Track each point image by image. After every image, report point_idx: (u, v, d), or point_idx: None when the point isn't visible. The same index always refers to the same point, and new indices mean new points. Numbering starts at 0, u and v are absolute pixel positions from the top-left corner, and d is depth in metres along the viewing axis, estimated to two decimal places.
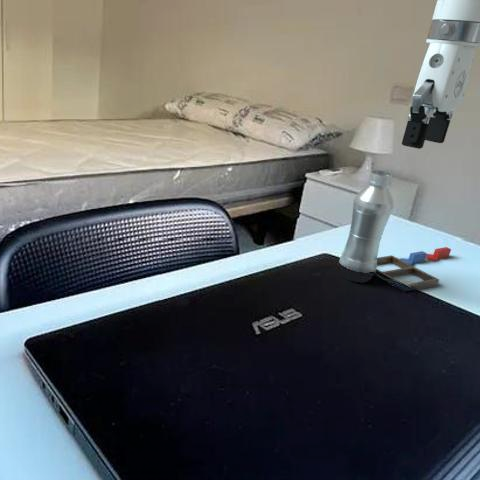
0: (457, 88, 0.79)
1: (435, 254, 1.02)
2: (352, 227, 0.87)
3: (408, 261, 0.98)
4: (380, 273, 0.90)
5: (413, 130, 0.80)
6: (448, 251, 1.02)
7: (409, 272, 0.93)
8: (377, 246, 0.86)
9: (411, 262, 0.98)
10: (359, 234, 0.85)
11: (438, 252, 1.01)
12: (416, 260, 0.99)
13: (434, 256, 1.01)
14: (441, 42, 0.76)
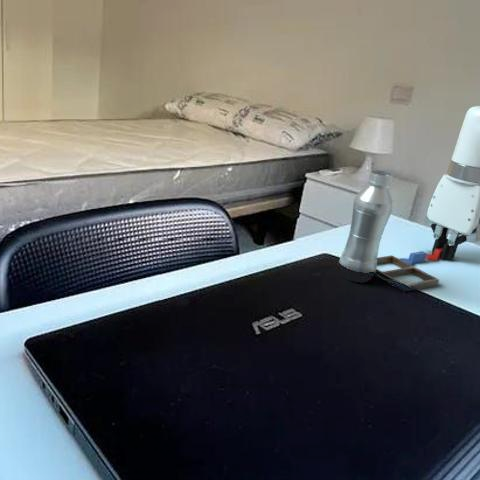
0: None
1: (435, 254, 1.02)
2: (352, 227, 0.87)
3: (408, 261, 0.98)
4: (380, 273, 0.90)
5: (452, 250, 1.00)
6: None
7: (409, 272, 0.93)
8: (377, 246, 0.86)
9: (411, 262, 0.98)
10: (359, 234, 0.85)
11: (438, 252, 1.01)
12: (416, 260, 0.99)
13: (434, 256, 1.01)
14: None
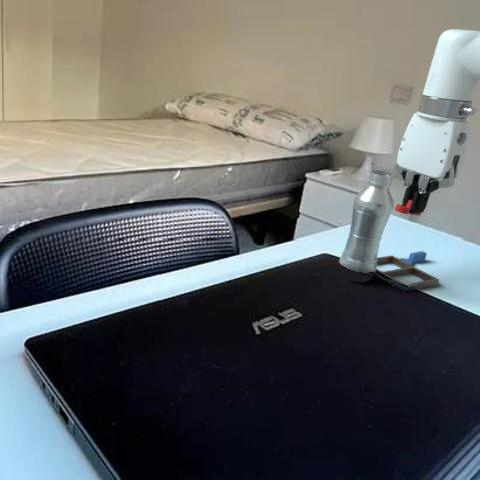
0: None
1: (408, 205, 0.91)
2: (352, 227, 0.87)
3: (408, 261, 0.98)
4: (380, 273, 0.90)
5: (424, 200, 0.89)
6: None
7: (409, 272, 0.93)
8: (377, 246, 0.86)
9: (411, 262, 0.98)
10: (359, 234, 0.85)
11: None
12: (416, 260, 0.99)
13: (406, 207, 0.90)
14: (459, 120, 0.82)
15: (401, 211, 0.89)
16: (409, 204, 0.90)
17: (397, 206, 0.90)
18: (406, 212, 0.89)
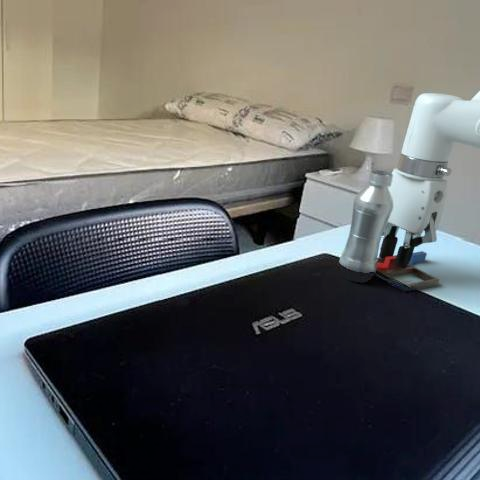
0: None
1: (386, 262, 0.94)
2: (352, 227, 0.87)
3: None
4: (380, 273, 0.90)
5: (408, 253, 0.91)
6: None
7: (409, 272, 0.93)
8: (377, 246, 0.86)
9: (411, 262, 0.98)
10: (359, 234, 0.85)
11: (389, 260, 0.94)
12: (416, 260, 0.99)
13: (384, 265, 0.94)
14: (436, 180, 0.85)
15: None
16: (387, 261, 0.94)
17: None
18: (384, 271, 0.93)
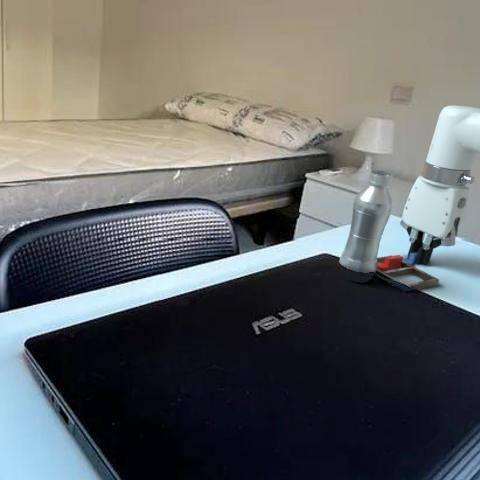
0: None
1: (386, 262, 0.94)
2: (352, 227, 0.87)
3: (408, 261, 0.98)
4: (380, 273, 0.90)
5: (428, 255, 0.97)
6: (400, 259, 0.95)
7: (409, 272, 0.93)
8: (377, 246, 0.86)
9: (411, 262, 0.98)
10: (359, 234, 0.85)
11: (389, 260, 0.94)
12: None
13: (384, 265, 0.94)
14: (459, 187, 0.90)
15: None
16: (387, 261, 0.94)
17: None
18: (384, 271, 0.93)
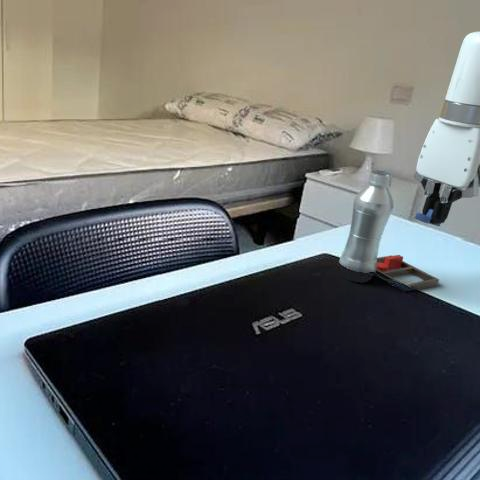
0: None
1: (386, 262, 0.94)
2: (352, 227, 0.87)
3: (426, 215, 0.86)
4: (380, 273, 0.90)
5: (446, 209, 0.85)
6: (400, 259, 0.95)
7: (409, 272, 0.93)
8: (377, 246, 0.86)
9: (429, 217, 0.86)
10: (359, 234, 0.85)
11: (389, 260, 0.94)
12: None
13: (384, 265, 0.94)
14: None
15: None
16: (387, 261, 0.94)
17: None
18: (384, 271, 0.93)
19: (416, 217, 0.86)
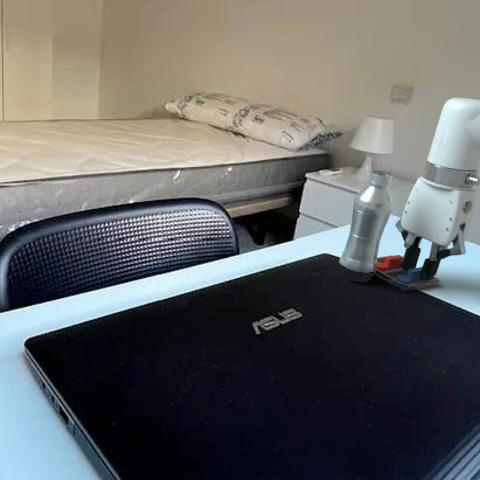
0: None
1: (386, 262, 0.94)
2: (352, 227, 0.87)
3: (406, 278, 0.89)
4: (380, 273, 0.90)
5: (435, 266, 0.87)
6: (400, 259, 0.95)
7: None
8: (377, 246, 0.86)
9: (409, 279, 0.89)
10: (359, 234, 0.85)
11: (389, 260, 0.94)
12: (415, 277, 0.90)
13: (384, 265, 0.94)
14: (465, 189, 0.81)
15: None
16: (387, 261, 0.94)
17: None
18: (384, 271, 0.93)
19: None
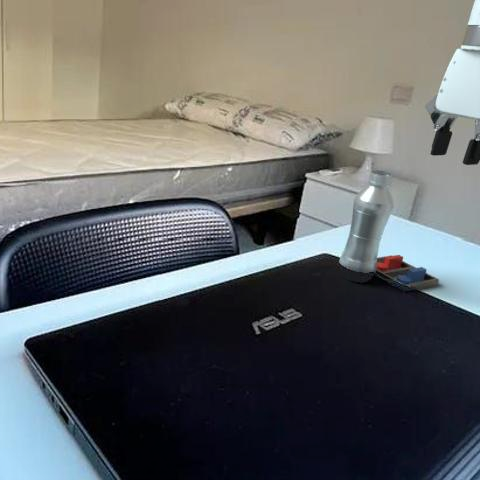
0: None
1: (386, 262, 0.94)
2: (352, 227, 0.87)
3: (406, 278, 0.89)
4: (380, 273, 0.90)
5: None
6: (400, 259, 0.95)
7: None
8: (377, 246, 0.86)
9: (409, 279, 0.89)
10: (359, 234, 0.85)
11: (389, 260, 0.94)
12: (415, 277, 0.90)
13: (384, 265, 0.94)
14: None
15: None
16: (387, 261, 0.94)
17: None
18: (384, 271, 0.93)
19: None
